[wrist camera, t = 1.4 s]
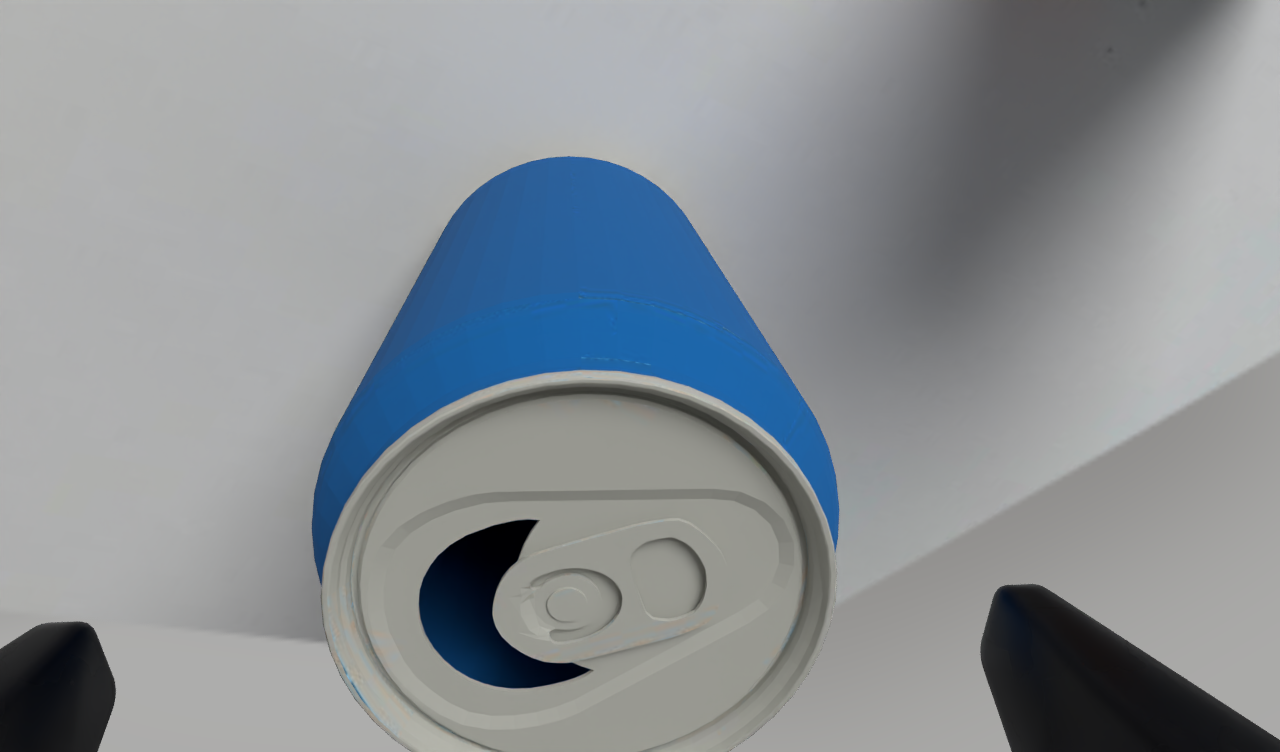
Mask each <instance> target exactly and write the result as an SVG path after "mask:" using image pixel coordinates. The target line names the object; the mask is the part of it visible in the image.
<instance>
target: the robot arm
mask: <svg viewBox="0 0 1280 752" xmlns="http://www.w3.org/2000/svg"><path fill="white" fill-rule="evenodd" d="M981 661H982V665H983V668H984V672H985V675H986V678H987V681H988V684H989V686H990V689H991V692H992V695H993V698H994V701H995V704H996V707H997V710H998V712H999V716H1000V718H1001V721H1002V724H1003V727H1004V730H1005V733H1006V736H1007V739H1008V742H1009V745H1010V748H1011V751H1012V752H1280V740H1279V739H1277V738H1276V737H1274V736H1273V735H1271V734H1270V733H1268V732H1267V731H1265V730H1264V729H1262V728H1261V727H1259V726H1257V725H1256V724H1254V723H1253V722H1251V721H1250V720H1248V719H1246V718H1245V717H1244V716H1242V715H1241V714H1239V713H1237V712H1236V711H1234V710H1233V709H1231V708H1230V707H1228V706H1227V705H1225V704H1223V703H1222V702H1220V701H1219V700H1217V699H1216V698H1214V697H1213V696H1211V695H1210V694H1208V693H1206V692H1205V691H1204V690H1202V689H1201V688H1199V687H1197V686H1196V685H1194V684H1193V683H1191V682H1190V681H1188V680H1187V679H1185V678H1184V677H1182V676H1181V675H1179V674H1177V673H1176V672H1174V671H1173V670H1171V669H1170V668H1168V667H1167V666H1165V665H1163V664H1162V663H1161V662H1159V661H1157V660H1156V659H1154V658H1153V657H1151V656H1150V655H1148V654H1147V653H1145V652H1143V651H1142V650H1141V649H1139V648H1137V647H1136V646H1134V645H1133V644H1131V643H1129V642H1128V641H1127V640H1125V639H1124V638H1122V637H1121V636H1119V635H1117V634H1116V633H1114V632H1113V631H1111V630H1110V629H1108V628H1107V627H1105V626H1103V625H1102V624H1101V623H1099V622H1097V621H1096V620H1094V619H1093V618H1091V617H1090V616H1088V615H1087V614H1085V613H1084V612H1082V611H1080V610H1079V609H1077V608H1076V607H1074V606H1073V605H1071V604H1070V603H1068V602H1067V601H1065V600H1064V599H1062V598H1060V597H1059V596H1057V595H1056V594H1054V593H1053V592H1051V591H1050V590H1048V589H1046V588H1045V587H1043V586H1040V585H1036V584H1024V585H1005V586H1002V587H1000V588H999V589H998V590H997V591H996V592H995V594H994V597H993V601H992V604H991V608H990V611H989V615H988V619H987V622H986V626H985V630H984V633H983V637H982V641H981ZM115 695H116V688H115V681H114V678H113V675H112V672H111V670H110V667H109V665H108V662H107V660H106V657H105V655H104V652H103V650H102V647H101V644H100V642H99V639H98V637H97V634H96V632H95V630H94V628H93V627H91V626H90V625H89V624H88V623H84V622H55V623H45V624H41V625H38V626H36V627H34V628H32V629H31V630H29V631H28V632H26V633H24V634H23V635H21V636H20V637H18V638H17V639H15V640H13V641H12V642H10V643H9V644H7V645H6V646H4V647H3V648H1V649H0V752H97V751H98V748H99V746H100V743H101V740H102V738H103V735H104V732H105V729H106V726H107V723H108V721H109V718H110V715H111V712H112V709H113V706H114V702H115Z"/></svg>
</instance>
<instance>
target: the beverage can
mask: <svg viewBox="0 0 1280 752" xmlns="http://www.w3.org/2000/svg"><path fill="white" fill-rule="evenodd" d="M838 524H839V502H838V493H837V483H836V475H835V471H834V467H833V463H832V459H831V456H830V452H829V448H828V445H827V443H826V440H825V438H824V436H823V434H822V431H821V429H820V427H819V424H818V422H817V420H816V418H815V416H814V415H813V413H812V412H811V410H810V408H809V407H808V405H807V404H806V402H805V401H804V399H803V397H802V396H801V394H800V393H799V391H798V390H797V388H796V386H795V385H794V383H793V382H792V380H791V379H790V377H789V376H788V374H787V372H786V371H785V369H784V368H783V366H782V365H781V363H780V362H779V360H778V358H777V357H776V355H775V354H774V352H773V351H772V349H771V348H770V346H769V344H768V343H767V341H766V340H765V338H764V337H763V335H762V334H761V332H760V330H759V329H758V327H757V326H756V324H755V323H754V321H753V320H752V318H751V316H750V315H749V313H748V312H747V310H746V309H745V307H744V306H743V304H742V302H741V301H740V299H739V298H738V296H737V295H736V293H735V292H734V290H733V288H732V287H731V285H730V284H729V282H728V281H727V279H726V278H725V276H724V274H723V273H722V271H721V270H720V268H719V267H718V265H717V264H716V262H715V260H714V259H713V257H712V256H711V254H710V253H709V251H708V250H707V248H706V246H705V245H704V243H703V242H702V240H701V239H700V237H699V236H698V234H697V232H696V231H695V229H694V228H693V226H692V225H691V223H690V222H689V220H688V218H687V217H686V215H685V214H684V213H683V211H682V210H681V209H680V208H679V207H678V206H677V204H676V203H675V202H674V201H673V200H672V199H671V198H670V197H669V196H668V195H667V194H666V193H665V192H663V191H662V190H661V189H660V188H659V187H658V186H656V185H655V184H653V183H652V182H650V181H649V180H647V179H646V178H644V177H643V176H641V175H639V174H637V173H635V172H633V171H631V170H629V169H627V168H625V167H622V166H619V165H616V164H613V163H610V162H607V161H602V160H597V159H592V158H585V157H570V156H568V157H553V158H546V159H541V160H536V161H531V162H528V163H525V164H522V165H519V166H516V167H514V168H511V169H509V170H507V171H505V172H503V173H501V174H499V175H497V176H495V177H494V178H492V179H491V180H489V181H488V182H487V183H485V184H484V185H482V186H481V187H479V188H478V189H477V190H476V191H475V192H474V193H473V194H472V195H471V196H470V197H468V198H467V199H466V200H465V201H464V202H463V204H462V205H461V206H460V207H459V209H458V210H457V211H456V212H455V214H454V215H453V216H452V218H451V219H450V221H449V223H448V224H447V226H446V228H445V229H444V231H443V233H442V235H441V237H440V238H439V240H438V242H437V244H436V246H435V248H434V249H433V251H432V253H431V255H430V257H429V259H428V260H427V262H426V264H425V266H424V268H423V270H422V271H421V273H420V275H419V277H418V279H417V281H416V282H415V284H414V286H413V288H412V290H411V292H410V293H409V295H408V297H407V299H406V301H405V303H404V305H403V306H402V308H401V310H400V312H399V314H398V316H397V317H396V319H395V321H394V323H393V325H392V327H391V328H390V330H389V332H388V334H387V336H386V338H385V339H384V341H383V343H382V345H381V347H380V349H379V350H378V352H377V354H376V356H375V358H374V360H373V362H372V363H371V365H370V367H369V369H368V371H367V373H366V374H365V376H364V378H363V380H362V382H361V384H360V385H359V387H358V389H357V391H356V393H355V395H354V396H353V398H352V400H351V402H350V404H349V406H348V407H347V409H346V411H345V413H344V415H343V417H342V419H341V420H340V422H339V424H338V426H337V428H336V430H335V431H334V434H333V436H332V438H331V441H330V443H329V446H328V448H327V450H326V453H325V455H324V458H323V460H322V463H321V467H320V471H319V475H318V480H317V484H316V488H315V492H314V505H313V518H312V536H313V547H314V559H315V563H316V567H317V571H318V575H319V579H320V583H321V587H322V588H321V604H322V617H323V626H324V630H325V633H326V637H327V641H328V645H329V649H330V652H331V655H332V657H333V659H334V661H335V664H336V666H337V668H338V671H339V673H340V676H341V677H342V679H343V681H344V682H345V684H346V685H347V687H348V688H349V690H350V692H351V693H352V695H353V697H354V698H355V700H356V701H357V702H358V703H359V704H360V706H361V707H362V708H363V709H364V710H365V712H366V713H367V714H368V715H369V716H370V718H371V719H372V720H373V721H374V722H375V723H376V724H377V725H378V726H380V727H381V728H382V729H383V730H384V731H385V732H386V733H387V734H388V735H390V736H391V737H392V738H393V739H394V740H395V741H397V742H398V743H400V744H401V745H402V746H404V747H405V748H407V749H408V750H410V751H411V752H729V751H730V750H732V749H733V748H735V747H736V746H738V745H739V744H741V743H742V742H744V741H745V740H746V739H748V738H749V737H751V736H752V735H753V734H755V732H757V731H758V730H759V729H760V728H761V727H763V726H764V725H765V724H766V723H767V722H768V721H770V720H771V719H772V718H773V717H774V716H775V715H776V714H777V713H778V712H779V711H780V709H781V708H782V707H783V706H784V705H785V704H786V703H787V702H788V701H789V699H791V697H792V696H793V695H794V693H795V692H796V691H797V689H798V688H799V687H800V685H801V684H802V682H803V681H804V679H805V678H806V677H807V675H808V674H809V672H810V670H811V668H812V666H813V665H814V663H815V661H816V659H817V657H818V655H819V653H820V651H821V649H822V646H823V644H824V641H825V638H826V635H827V633H828V630H829V627H830V624H831V619H832V614H833V609H834V605H835V600H836V582H837V567H836V558H835V551H836V545H837V540H838Z"/></svg>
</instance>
